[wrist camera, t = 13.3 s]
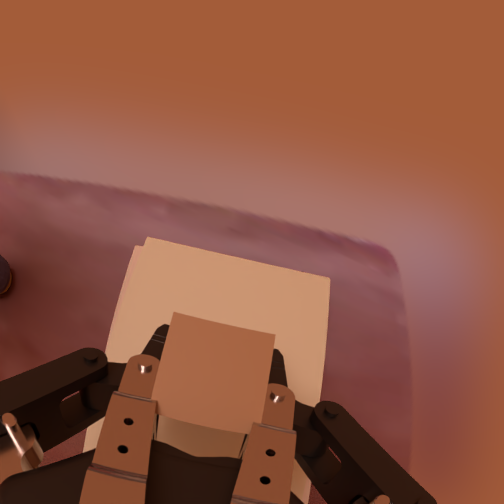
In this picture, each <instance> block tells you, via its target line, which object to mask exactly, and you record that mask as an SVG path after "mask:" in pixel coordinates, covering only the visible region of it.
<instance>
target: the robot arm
mask: <svg viewBox="0 0 504 504" xmlns="http://www.w3.org/2000/svg"><path fill="white" fill-rule="evenodd" d="M169 326H170V325H167V324H163V325H162V326H160V327H158V328H157V329H156V331H155V332H154V335H152V337H151V339H150V340H149V342H148V343H147V345H146V346H145V348H144V350H143V351H142V353H141V354H139V355H135V356H132V357H131V358H130V359H129V360H128V362H127V363H115V362H108V358H107V356H106V354H105V353H104V352H102V351H101V350H98V349H95V348H83V349H80V350H78V351H75V352H73V353H70V354H68V355H66V356H63V357H61V358H58V359H56V360H53V361H51V362H48V363H46V364H44V365H41V366H39V367H36V368H34V369H31V370H29V371H26V372H24V373H21V374H19V375H16V376H14V377H11V378H8V379H6V380H3V381H1V382H0V504H304V503H303V502H302V501H301V500H300V499H299V498H298V497H297V496H296V495H295V494H294V493H293V492H292V491H291V483H292V475H293V466H294V458H295V460H296V461H297V463H298V464H299V465H300V467H301V468H302V470H303V471H304V473H305V474H306V475H307V477H308V478H309V479H310V481H311V482H312V484H313V485H314V486H315V488H316V489H317V490H318V492H319V493H320V494H321V496H322V497H323V498H324V500H325V501H326V502H327V504H437V502H436V500H435V499H434V498H433V497H432V496H431V495H430V494H429V493H428V492H427V491H425V489H424V488H423V487H422V486H420V485H419V484H418V483H417V482H416V481H415V480H414V479H413V478H412V477H411V476H410V475H409V474H408V473H407V472H406V471H405V470H404V469H403V468H402V467H401V466H400V465H399V464H398V463H397V462H396V461H395V460H394V459H393V458H392V457H391V456H390V455H389V454H388V453H387V452H386V451H385V450H384V449H383V448H382V447H381V446H380V445H379V444H378V443H377V442H376V441H375V440H374V439H373V438H372V437H371V436H370V435H369V434H368V433H367V432H366V431H365V430H364V429H363V428H362V427H361V426H360V425H359V424H358V422H357V421H356V420H355V419H354V418H353V417H352V416H351V415H350V414H349V413H348V412H347V411H346V410H345V409H344V408H343V407H342V406H341V405H339V404H337V403H335V402H331V401H321V402H319V403H317V404H316V405H315V407H312V406H308V405H305V404H303V403H300V402H298V401H297V400H295V395H294V393H293V392H292V391H291V390H290V389H289V388H288V385H287V378H286V371H285V364H284V358H283V355H282V354H281V352H280V351H279V350H278V349H273V356H272V362H271V368H270V374H269V380H268V386H267V392H266V398H265V404H264V410H263V415H262V421H261V423H256V422H253V424H252V427H251V430H250V433H249V434H245V435H244V438H243V442H242V445H241V448H240V451H239V455H238V458H233V457H196V456H193V455H190V454H188V453H186V452H184V451H182V450H179V449H177V448H175V447H173V446H171V445H169V444H167V443H164V442H160V441H157V433H158V424H159V415H158V414H155V413H156V402H157V400H152V399H151V397H152V392H153V388H154V384H155V380H156V376H157V372H158V368H159V364H160V360H161V356H162V352H163V349H164V345H165V341H166V337H167V334H168V330H169ZM77 391H79V393H77V394H75V395H74V396H72V397H70V398H68V399H66V400H64V401H62V400H63V399H64V398H65V397H67V396H69V395H71V394H73V393H75V392H77ZM61 401H62V402H61ZM103 417H105V418H104V422H103V425H102V428H101V432H100V435H99V439H98V442H97V446H96V448H94V449H92V450H89V451H86V452H84V453H81V454H78V455H76V456H73V457H70V458H67V459H64V460H61V461H58V462H55V463H52V464H49V465H45V466H42V467H39V466H40V463H41V462H42V460H43V453H44V452H46V451H47V450H49V449H51V448H53V447H55V446H56V445H58V444H60V443H62V442H63V441H65V440H67V439H69V438H70V437H72V436H74V435H75V434H77V433H79V432H80V431H82V430H84V429H85V428H87V427H89V426H90V425H92V424H94V423H95V422H97V421H99V420H100V419H102V418H103ZM329 447H330V448H331V449H332V450H333V451H334V453H335V454H336V455H337V456H338V457H339V459H340V460H341V463H340V462H339V461H338V459H337V458H336V457H335V456H334V455H333V453H332V452H331V451H330V450H329V449H328V448H329Z"/></svg>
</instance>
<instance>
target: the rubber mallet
mask: <svg viewBox="0 0 504 504" xmlns="http://www.w3.org/2000/svg"><path fill="white" fill-rule="evenodd" d="M11 281H12V274H11V272H10V268H9V264H8V262H7V261H6V260H5V259H4V258H3V257H2V256H1V255H0V294H2V293H4V292H6V291H7V289H8V288H9V287H10V284H11Z"/></svg>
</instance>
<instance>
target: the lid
mask: <svg viewBox="0 0 504 504" xmlns="http://www.w3.org/2000/svg"><path fill="white" fill-rule="evenodd" d="M329 293H330V278H327V277H322V276H318V275H313V274H309V273H304V272H300V271H295V270H291V269H286V268H282V267H277V266H273V265H269V264H264V263H260V262H255V261H251V260H246V259H242V258H238V257H233V256H229V255H224V254H220V253H216V252H211V251H207V250H203V249H198V248H194V247H190V246H185V245H181V244H177V243H172V242H168V241H164V240H160V239H155V238H151V237H147V239H146V241H145V244H144V246H143V249H142V251H141V254H140V256H139V259H138V261H137V264H136V266H135V269H134V271H133V274H132V276H131V279H130V282H129V284H128V287H127V290H126V293H125V295H124V298H123V301H122V304H121V307H120V310H119V313H118V316H117V319H116V322H115V325H114V328H113V331H112V334H111V337H110V341H109V344H108V347H107V351H106V356H107V358H108V362H115V363H127V362H128V360H129V359H130V358H131V357H132V356H135V355H139V354H141V353H142V351H143V350H144V348H145V346H146V345H147V343H148V342H149V340H150V339H151V337H152V335H154V332H155V331H156V329H157V328H158V327H160V326H162V325H163V324H167V325H170V326H169V330H168V334H167V337H166V341H165V345H164V349H163V352H162V356H161V360H160V364H159V368H158V372H157V376H156V380H155V384H154V388H153V392H152V397H151V399H152V400H157V402H156V413H155V414H158V415H159V424H158V433H157V441H160V442H164V443H167V444H169V445H171V446H173V447H175V448H177V449H179V450H182V451H184V452H186V453H188V454H190V455H193V456H196V457H233V458H238V455H239V451H240V448H241V445H242V442H243V438H244V435H245V434H249V433H250V430H251V427H252V424H253V422H256V423H261V421H262V415H263V410H264V404H265V398H266V392H267V386H268V380H269V374H270V368H271V362H272V356H273V349H278V350H279V351H280V352H281V354H282V355H283V358H284V364H285V371H286V378H287V385H288V388H289V389H290V390H291V391H292V392H293V393H294V395H295V400H297V401H298V402H300V403H303V404H305V405H308V406H312V407H315V405H316V404H317V403H319V402H320V395H321V387H322V378H323V369H324V359H325V349H326V338H327V325H328V310H329ZM104 418H105V417H103V418H102V419H100V420H99V421H97V422H95V423H94V424H92V425H90V426H89V427H87V433H86V438H85V444H84V449H83V453H84V452H86V451H89V450H92V449H94V448H96V446H97V442H98V439H99V435H100V432H101V428H102V425H103V422H104ZM306 479H307V475H306V474H305V473H304V471H303V470H302V468H301V467H300V465H299V464H298V463H297V461H296V460H295V458H294V466H293V475H292V483H291V491H292V492H293V493H294V494H295V495H296V496H297V497H298V498H299V499H300V500H301V501H302V497H303V493H304V488H305V484H306Z"/></svg>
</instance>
